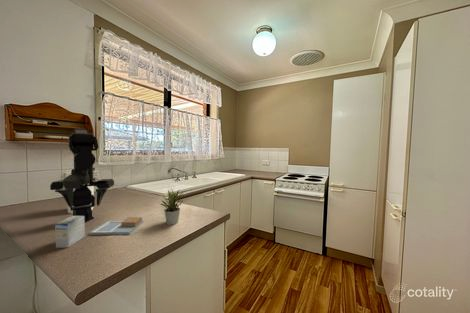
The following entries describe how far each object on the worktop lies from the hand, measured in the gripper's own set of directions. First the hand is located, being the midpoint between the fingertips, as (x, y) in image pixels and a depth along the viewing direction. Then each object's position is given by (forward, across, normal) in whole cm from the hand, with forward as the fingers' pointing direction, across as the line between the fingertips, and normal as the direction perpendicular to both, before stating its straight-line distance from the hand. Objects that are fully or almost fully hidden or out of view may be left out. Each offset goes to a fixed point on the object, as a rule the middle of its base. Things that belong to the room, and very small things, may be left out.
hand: (84, 206), depth 72 cm
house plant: (+13, +32, +9) cm, 36 cm away
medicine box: (+13, -3, -3) cm, 13 cm away
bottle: (+13, -21, +38) cm, 46 cm away
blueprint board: (+12, +9, +7) cm, 17 cm away
